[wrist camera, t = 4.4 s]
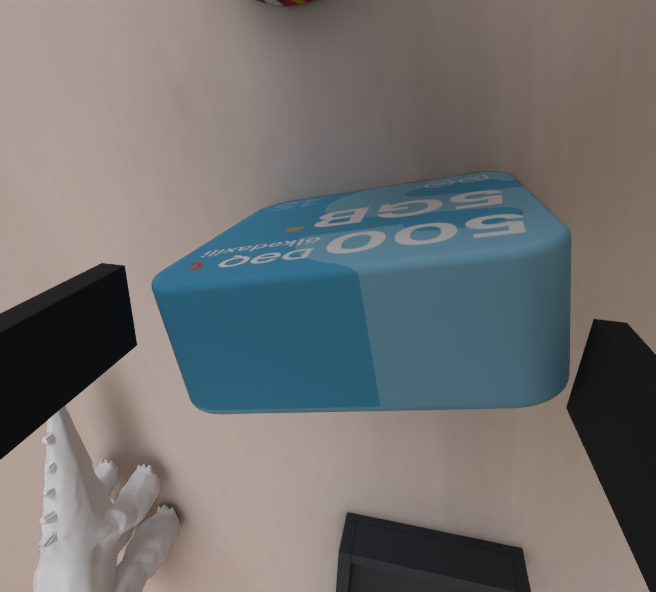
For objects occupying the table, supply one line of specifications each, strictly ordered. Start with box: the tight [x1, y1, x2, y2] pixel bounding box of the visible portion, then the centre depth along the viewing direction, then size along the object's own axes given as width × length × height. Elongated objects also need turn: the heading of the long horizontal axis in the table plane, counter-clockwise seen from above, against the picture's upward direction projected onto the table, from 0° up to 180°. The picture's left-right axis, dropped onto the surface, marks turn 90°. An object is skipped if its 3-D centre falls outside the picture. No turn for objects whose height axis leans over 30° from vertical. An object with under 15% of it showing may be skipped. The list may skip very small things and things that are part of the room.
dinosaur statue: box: [33, 406, 179, 592], centre depth 29 cm, size 7×24×11 cm, turn 3°
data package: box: [152, 172, 571, 414], centre depth 17 cm, size 12×4×12 cm, turn 101°
